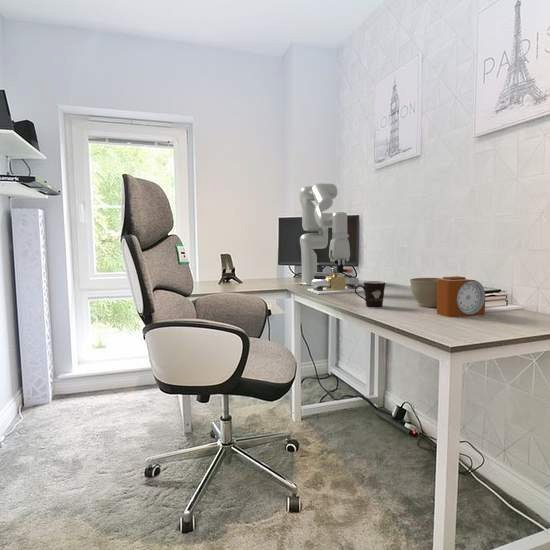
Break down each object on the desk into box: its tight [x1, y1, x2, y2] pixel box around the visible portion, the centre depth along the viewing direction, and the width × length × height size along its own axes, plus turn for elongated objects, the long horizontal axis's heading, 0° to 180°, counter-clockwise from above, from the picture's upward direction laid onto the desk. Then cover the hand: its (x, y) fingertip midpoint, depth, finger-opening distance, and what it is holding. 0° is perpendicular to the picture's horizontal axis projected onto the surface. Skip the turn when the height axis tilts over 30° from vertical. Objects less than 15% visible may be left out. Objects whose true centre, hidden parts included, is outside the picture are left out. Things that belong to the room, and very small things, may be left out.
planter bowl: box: [409, 277, 442, 308], centre depth 154 cm, size 16×16×11 cm
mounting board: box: [306, 286, 365, 295], centre depth 203 cm, size 16×27×1 cm, turn 107°
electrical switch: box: [314, 271, 331, 280], centre depth 216 cm, size 9×5×9 cm, turn 57°
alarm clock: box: [436, 275, 486, 318], centre depth 137 cm, size 15×8×14 cm, turn 105°
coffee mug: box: [354, 280, 386, 308], centre depth 156 cm, size 12×9×10 cm
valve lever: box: [331, 267, 354, 274], centre depth 198 cm, size 15×4×2 cm, turn 26°
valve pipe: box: [310, 271, 360, 291], centre depth 203 cm, size 7×26×10 cm, turn 107°
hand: (339, 272), depth 194 cm, fingers closed
